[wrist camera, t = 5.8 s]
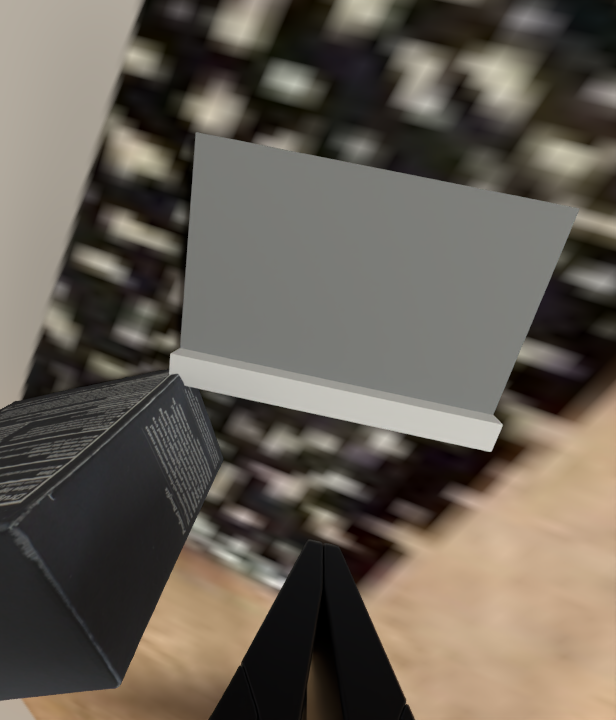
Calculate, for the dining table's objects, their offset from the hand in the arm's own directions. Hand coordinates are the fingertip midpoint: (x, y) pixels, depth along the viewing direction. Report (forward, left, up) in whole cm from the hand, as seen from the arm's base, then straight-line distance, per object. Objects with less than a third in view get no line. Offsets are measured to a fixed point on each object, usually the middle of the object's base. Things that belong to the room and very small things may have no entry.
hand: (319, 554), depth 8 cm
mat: (+6, 0, -9) cm, 11 cm away
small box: (-4, +11, -9) cm, 15 cm away
